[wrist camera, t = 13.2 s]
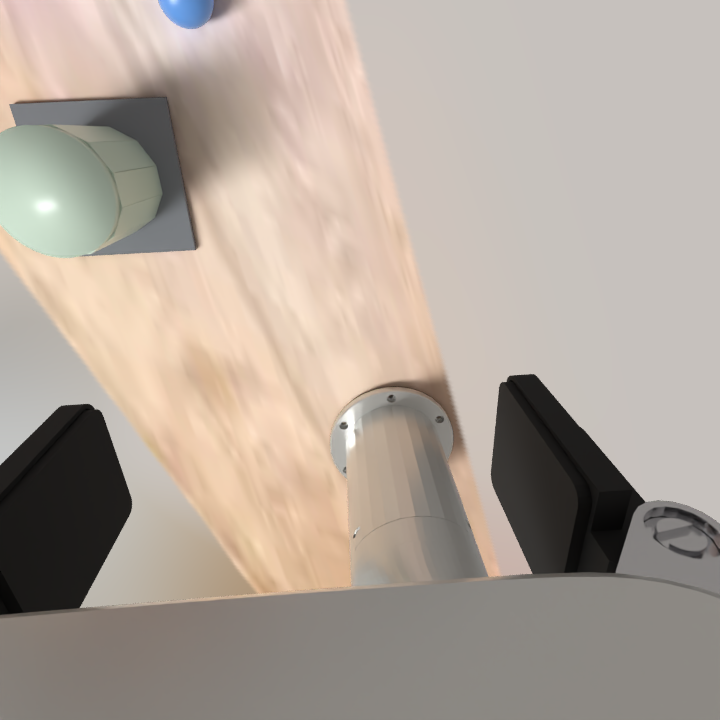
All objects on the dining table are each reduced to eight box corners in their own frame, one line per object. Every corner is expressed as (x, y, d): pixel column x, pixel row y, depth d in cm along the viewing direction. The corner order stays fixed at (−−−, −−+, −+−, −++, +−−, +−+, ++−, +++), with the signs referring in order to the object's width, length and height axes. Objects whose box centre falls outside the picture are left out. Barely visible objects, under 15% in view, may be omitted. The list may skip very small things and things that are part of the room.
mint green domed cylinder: (170, 230, 37) (129, 254, 30) (75, 235, 37) (8, 261, 30) (147, 124, 34) (93, 121, 26) (42, 129, 34) (-43, 128, 26)
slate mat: (196, 248, 38) (195, 249, 38) (62, 256, 38) (59, 257, 38) (166, 97, 34) (164, 97, 33) (12, 104, 33) (9, 104, 33)
